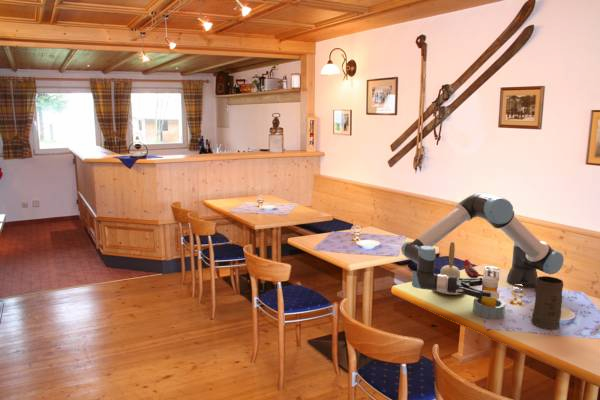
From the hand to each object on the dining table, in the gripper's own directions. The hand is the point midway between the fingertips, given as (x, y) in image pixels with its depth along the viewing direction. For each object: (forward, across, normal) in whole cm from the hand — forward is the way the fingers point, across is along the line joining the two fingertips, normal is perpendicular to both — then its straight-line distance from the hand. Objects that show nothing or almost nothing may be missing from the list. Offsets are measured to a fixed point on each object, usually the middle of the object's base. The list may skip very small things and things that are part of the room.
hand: (498, 290), depth 214 cm
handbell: (-21, -20, -11) cm, 31 cm away
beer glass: (-3, -18, -11) cm, 21 cm away
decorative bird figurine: (-10, -40, -11) cm, 43 cm away
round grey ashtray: (-3, 0, -11) cm, 11 cm away
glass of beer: (-3, 0, -10) cm, 11 cm away
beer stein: (+18, +1, -11) cm, 21 cm away
